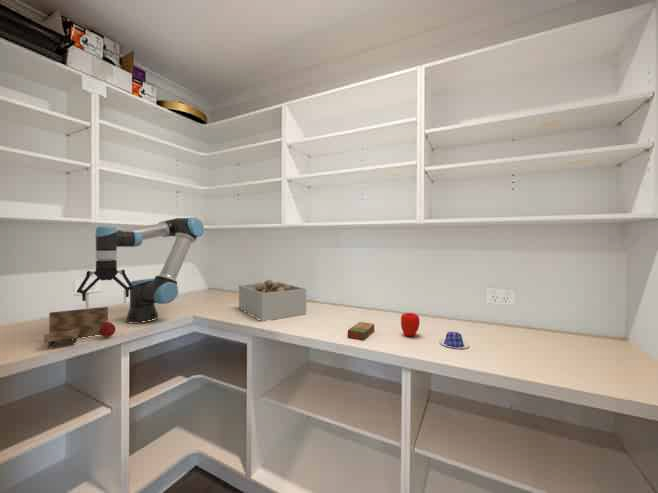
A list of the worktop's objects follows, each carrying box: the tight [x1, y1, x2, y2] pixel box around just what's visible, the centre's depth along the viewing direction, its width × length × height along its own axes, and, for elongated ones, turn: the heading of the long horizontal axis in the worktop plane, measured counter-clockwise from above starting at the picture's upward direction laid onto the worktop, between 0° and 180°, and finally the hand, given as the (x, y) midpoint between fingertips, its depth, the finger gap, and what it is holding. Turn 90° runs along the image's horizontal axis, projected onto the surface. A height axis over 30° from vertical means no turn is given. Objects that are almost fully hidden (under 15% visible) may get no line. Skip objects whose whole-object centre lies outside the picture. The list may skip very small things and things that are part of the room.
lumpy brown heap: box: [255, 279, 291, 293], centre depth 183 cm, size 38×26×20 cm
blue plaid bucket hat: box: [439, 331, 470, 350], centre depth 125 cm, size 12×12×5 cm
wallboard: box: [48, 306, 109, 343], centre depth 129 cm, size 20×2×13 cm, turn 127°
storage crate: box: [238, 281, 307, 322], centre depth 182 cm, size 29×38×16 cm
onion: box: [99, 320, 116, 339], centre depth 130 cm, size 6×6×8 cm
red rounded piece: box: [400, 312, 420, 337], centre depth 136 cm, size 9×9×11 cm
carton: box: [347, 321, 375, 341], centre depth 138 cm, size 8×16×4 cm, turn 153°
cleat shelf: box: [43, 329, 80, 349], centre depth 121 cm, size 10×11×7 cm
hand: (106, 306), depth 130 cm, fingers open, 13 cm apart
